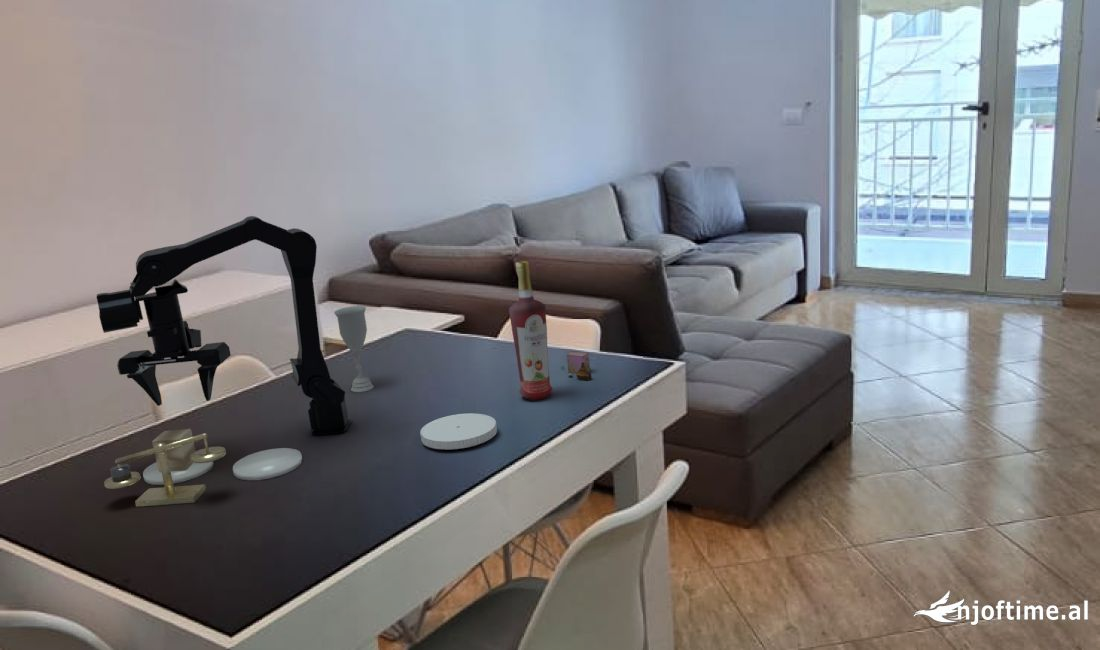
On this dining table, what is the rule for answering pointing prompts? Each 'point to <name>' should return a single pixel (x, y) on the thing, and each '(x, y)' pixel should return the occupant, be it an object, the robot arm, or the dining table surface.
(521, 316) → the liquor
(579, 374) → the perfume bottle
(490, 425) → the plastic lid
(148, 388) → the robot arm
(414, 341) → the dining table surface
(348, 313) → the chalice
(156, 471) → the pale round disc
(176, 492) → the balance
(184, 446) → the block
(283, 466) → the shallow white plate
